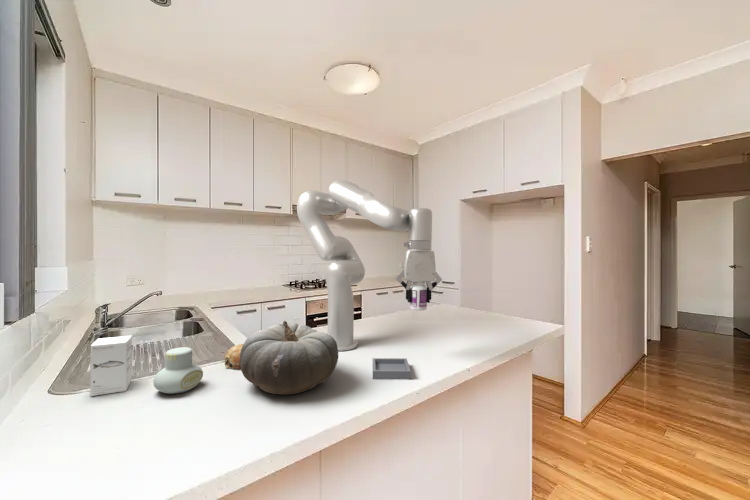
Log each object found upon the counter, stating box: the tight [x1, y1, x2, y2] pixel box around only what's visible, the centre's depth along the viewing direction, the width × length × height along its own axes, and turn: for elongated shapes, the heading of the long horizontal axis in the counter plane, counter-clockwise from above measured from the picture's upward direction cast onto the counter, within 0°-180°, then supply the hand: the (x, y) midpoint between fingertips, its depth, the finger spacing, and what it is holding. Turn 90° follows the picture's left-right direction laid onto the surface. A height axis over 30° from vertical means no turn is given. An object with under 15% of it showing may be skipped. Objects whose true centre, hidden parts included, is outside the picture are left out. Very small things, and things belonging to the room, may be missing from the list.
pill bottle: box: [409, 282, 428, 311], centre depth 108 cm, size 5×5×10 cm
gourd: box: [240, 320, 339, 396], centre depth 89 cm, size 25×25×17 cm
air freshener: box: [152, 346, 204, 395], centre depth 85 cm, size 11×8×10 cm
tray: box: [372, 357, 412, 380], centre depth 98 cm, size 11×11×2 cm
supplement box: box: [89, 335, 133, 397], centre depth 85 cm, size 7×7×13 cm
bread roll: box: [224, 343, 244, 371], centre depth 103 cm, size 10×10×8 cm
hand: (418, 301), depth 108 cm, fingers closed on pill bottle, 5 cm apart
